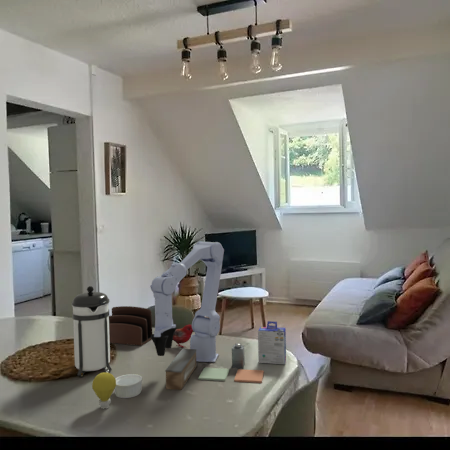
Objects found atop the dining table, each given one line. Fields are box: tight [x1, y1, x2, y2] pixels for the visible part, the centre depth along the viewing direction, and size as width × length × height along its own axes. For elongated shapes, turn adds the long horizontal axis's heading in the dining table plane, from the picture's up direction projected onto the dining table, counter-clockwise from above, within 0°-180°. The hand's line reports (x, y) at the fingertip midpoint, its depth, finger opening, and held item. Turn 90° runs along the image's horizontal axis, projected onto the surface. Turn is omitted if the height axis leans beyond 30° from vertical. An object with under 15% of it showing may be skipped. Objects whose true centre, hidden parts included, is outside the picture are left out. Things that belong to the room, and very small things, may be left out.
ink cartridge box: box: [257, 320, 287, 365], centre depth 158 cm, size 10×6×14 cm, turn 78°
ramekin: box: [114, 373, 143, 399], centre depth 134 cm, size 9×9×4 cm
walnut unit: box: [164, 348, 197, 391], centre depth 145 cm, size 6×20×6 cm, turn 170°
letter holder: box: [109, 305, 153, 347], centre depth 185 cm, size 10×20×14 cm, turn 73°
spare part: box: [231, 342, 246, 369], centre depth 154 cm, size 4×4×8 cm
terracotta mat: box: [233, 368, 265, 384], centre depth 144 cm, size 9×9×1 cm
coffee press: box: [71, 285, 112, 378], centre depth 153 cm, size 17×16×30 cm
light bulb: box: [91, 371, 116, 409], centre depth 124 cm, size 7×7×10 cm
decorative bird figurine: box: [172, 324, 194, 349], centre depth 176 cm, size 3×18×10 cm, turn 61°
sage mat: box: [197, 367, 230, 382], centre depth 146 cm, size 9×9×1 cm
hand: (164, 351), depth 146 cm, fingers open, 7 cm apart
